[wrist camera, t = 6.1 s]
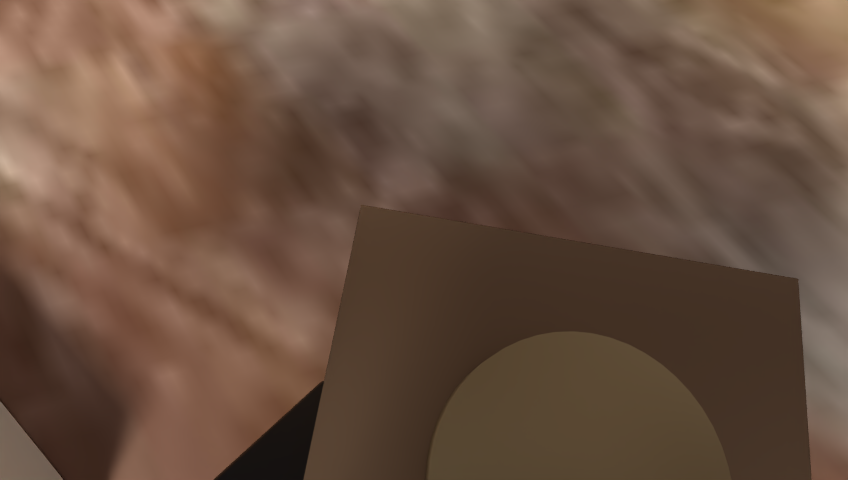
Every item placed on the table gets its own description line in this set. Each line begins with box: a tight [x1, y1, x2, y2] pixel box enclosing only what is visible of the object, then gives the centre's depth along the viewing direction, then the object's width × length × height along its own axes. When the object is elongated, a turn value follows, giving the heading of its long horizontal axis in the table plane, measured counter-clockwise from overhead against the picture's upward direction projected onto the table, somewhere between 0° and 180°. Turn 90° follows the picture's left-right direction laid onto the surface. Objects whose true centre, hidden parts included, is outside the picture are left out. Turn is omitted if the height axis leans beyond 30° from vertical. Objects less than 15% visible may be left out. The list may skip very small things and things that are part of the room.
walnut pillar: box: [303, 205, 811, 480], centre depth 9 cm, size 4×4×10 cm
